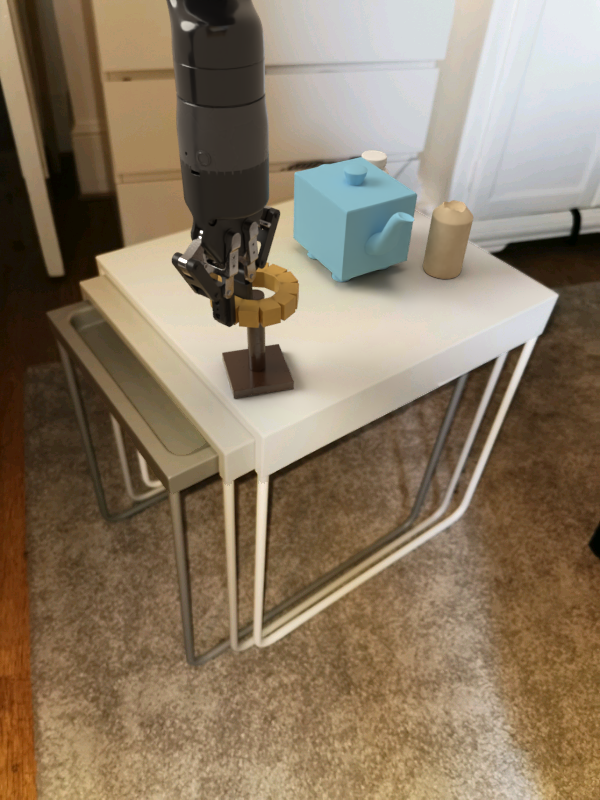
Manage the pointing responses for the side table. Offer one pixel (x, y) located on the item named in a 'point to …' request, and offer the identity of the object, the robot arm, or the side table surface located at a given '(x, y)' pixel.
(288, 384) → the post
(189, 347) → the side table surface
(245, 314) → the ring
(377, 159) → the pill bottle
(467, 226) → the candle
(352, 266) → the teapot
